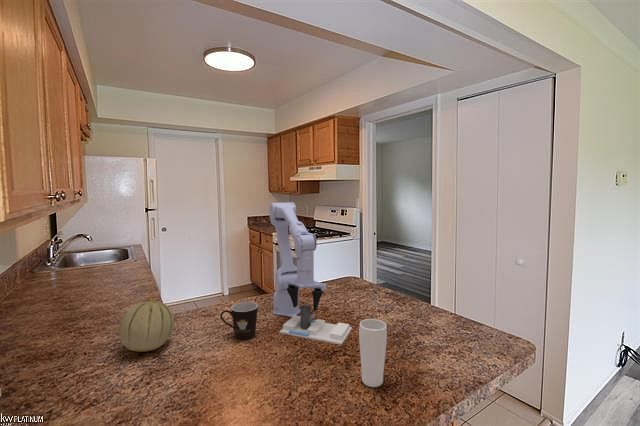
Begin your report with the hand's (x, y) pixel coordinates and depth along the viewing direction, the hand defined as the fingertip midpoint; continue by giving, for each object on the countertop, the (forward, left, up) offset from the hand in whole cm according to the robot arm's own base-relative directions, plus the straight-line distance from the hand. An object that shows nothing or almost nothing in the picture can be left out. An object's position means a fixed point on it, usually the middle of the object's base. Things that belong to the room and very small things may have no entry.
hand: (305, 308), depth 108 cm
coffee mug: (-18, -12, -8) cm, 23 cm away
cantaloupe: (-39, -30, -8) cm, 50 cm away
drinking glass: (+28, -21, -8) cm, 36 cm away
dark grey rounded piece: (0, +3, -7) cm, 8 cm away
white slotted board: (+4, 0, -8) cm, 9 cm away
